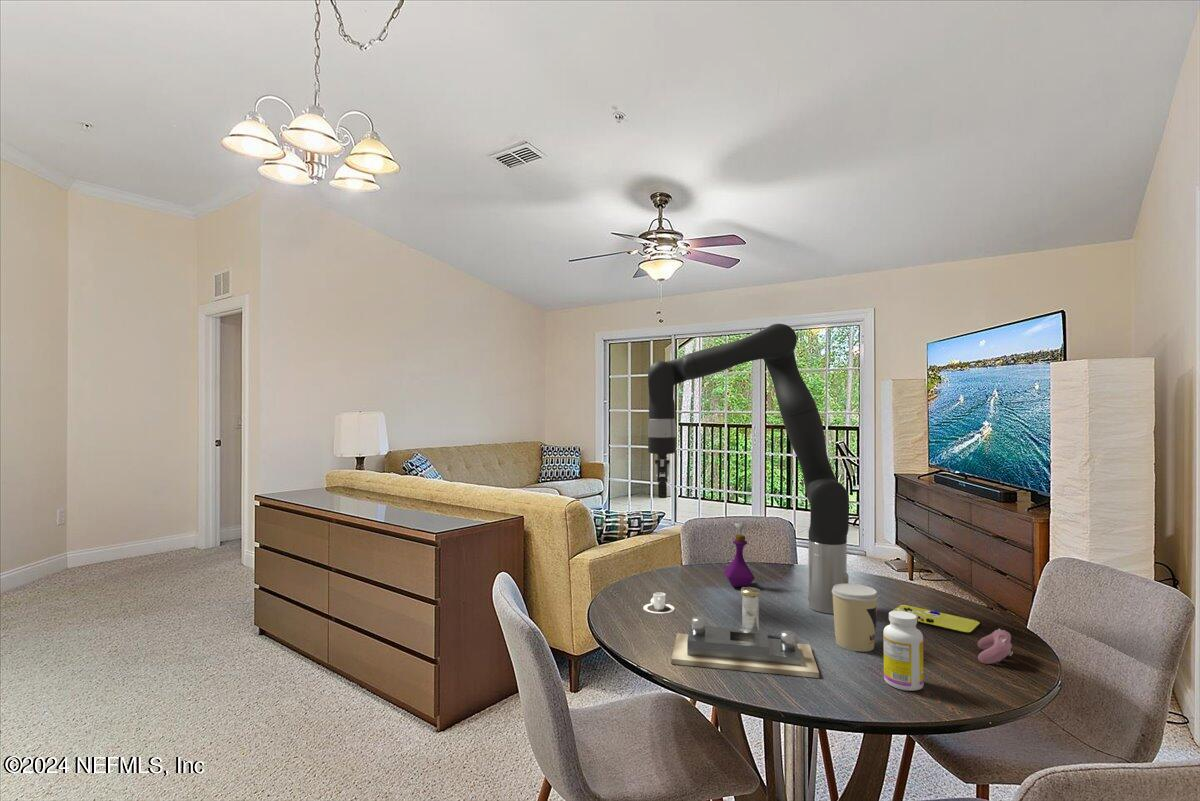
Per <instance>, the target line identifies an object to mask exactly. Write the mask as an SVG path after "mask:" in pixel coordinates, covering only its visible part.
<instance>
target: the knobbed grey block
mask: <svg viewBox="0 0 1200 801" xmlns="http://www.w3.org/2000/svg"><path fill="white" fill-rule="evenodd" d="M797 644H798V643H797V640H796V633H795V632H794V631H791V630H782V631H781V632H780V638H769V637H768V632H767V630H747V629H742V628H732V627H723V626H722V627H721V626H711V625H710V626H708V625H706V618H705V617H703V616H693V617H691V624H690V625H689V630H688V640H687V655H691V656H701V657H712V658H723V659H734V660H744V661H755V662H766V663H777V664H788V665H798V666H801V656H800V653H799V649H798V646H797Z"/></svg>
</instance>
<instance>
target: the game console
mask: <svg viewBox="0 0 1200 801" xmlns="http://www.w3.org/2000/svg"><path fill="white" fill-rule="evenodd" d="M891 611H904V612H909V613H912V614H914V615H916V616H917V625H923V626H927V627H931V628H935V629H939V630H943V631H948V632H952V633H956V634H960V635H972V633H974V632H975V631H976V630H977V629H978V628H979V627H980V624H981V623H980V622H979V621H977V620H976V619H971V618H966V617H962V616H958V615H953V614H949V613H944V612H940V611H936V610H930V609H926V608H921V607H917V606H911V605H906V604H905V605H904V604H902V605H901V604H900V605H898V606H897V607H895V608H894V609H893V610H891Z"/></svg>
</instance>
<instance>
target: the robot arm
mask: <svg viewBox="0 0 1200 801" xmlns="http://www.w3.org/2000/svg"><path fill="white" fill-rule="evenodd" d="M797 344H798V337H797V333H796V331H795V330H794V329H793V328H792V327H791V326H789V325H787V324H784V323H774V324H771V325H769V326H767V327H766V328H763V329H762V330H760V331H758V332H755V333H753V334H751V335H748V336H746V337H743V338H740V339H738V340H734V341H731V342H727V343H723V344H719V345H715V346H711V347H707V348H704V349H700V350H697V351H693V352H689V353H687V354H685V355H683V356H682V357H679V358H676V359H671V360H667V361H663V360H658V361H655V362H653V363H652V364H651V365H650V367H649V369H648V372H647V383H648V386H647V387H648V397H649V400H648V401H649V402H648V424H647V425H648V426H647V441H648V442H647V447H648V448H647V450H648V453H649V454H654V455H657V457H656V458H657V459H655V460H654V468H655V476H656V477H657V478H656V482H657V484H658V485H657V486H658V488H657V491H658V492H657V494H658V495H657V496H658V498H659V499H666V498H667V497H668V496H667V495H668V492H667V491H668V487H667V486H668V485H667V484H668V481H669V480H668V477H669V475H670V466H671V465H670V459H668V457H667V456H668V455H669V454H670V455H672V454H675V453H676V452H677V425H676V405H675V399H674V398H675V397H674V392H675V388H674V387H675V386H676V385H678V384H680V383H681V384H682V383H684V382H686V381H689V380H690V381H691V380H695V379H699V378H703V377H707V376H710V375H713V374H716V373H720V372H723V371H726V370H727V369H731V368H734V367H735V366H739V365H743V364H745V363H748V362H753V361H758V360H763V361H764V364H765V366H766V369H767V371H768V373H769V375H770V378H771V381H772V384H773V388H774V393H775V397H776V401H777V405H778V408H779V411H780V412H779V413H780V417H781V419H782V423H783V426H784V429H785V432H786V433H787V436H788V439H789V442H790V444H791V447H792V449H793V451H794V453H795V456H796V458H797V460H798V464H799V466H800V468H801V474H802V477H803V478H802V479H803V481H804V483H803V484H804V486H805V492H806V497H807V501H808V503H809V506H810V524H809V529H808V579H807V581H808V591H807V592H808V597H807V600H808V607H809V608H810V609H812V610H814V611H816V612H819V613H824V614H833V615H834V610H833V594H832V589H833V587H834V586H835V585H837V584H850V583H849V582H850V581H849V574H848V571H847V567H848V564H847V557H848V556H847V554H848V553H847V552H848V550H847V549H848V548H847V546H848V544H847V543H848V540H847V539H848V532H849V528H850V526H849V525H850V524H849V523H850V498H849V493H848V490H847V489H846V487H845V486H844V485H843V484H842V483H841V482H839V481H838V479H837V477H836V475H835V472H834V471H833V468H832V466H831V464H830V461H829V457H828V454H827V447H826V437H825V430H824V429H825V428H824V426H823V421H822V418H821V415H820V412H819V409H818V406H817V404H816V401H815V399H814V397H813V395H812V394H811V391H810V389H809V388H808V387H807V384H806V382H805V381H804V379H803V378H802V376H801V373H800V370H799V368H798V364H797V359H796V356H795V352H794V350H796V346H797Z"/></svg>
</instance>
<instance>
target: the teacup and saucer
mask: <svg viewBox="0 0 1200 801" xmlns="http://www.w3.org/2000/svg"><path fill="white" fill-rule="evenodd" d="M652 595H653V596H652V598H651V599H650V603H647V604H645V605H644V606H643V608H642V609H643V610H644V611H645V612H648V613H652V614H657V615H658V614H670V613H672V612H674V611H675V607H674V606H673V605H672V604H670V603H666V593H664V592H661V591H659V592H654V593H653V594H652ZM649 606H654V609H655V610H658V611H652V610H650V609H648V607H649ZM665 606H666V607H667V608H670V609H669V610H668V611H662V612H661V610H664V609H665ZM659 611H660V612H659Z"/></svg>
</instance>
